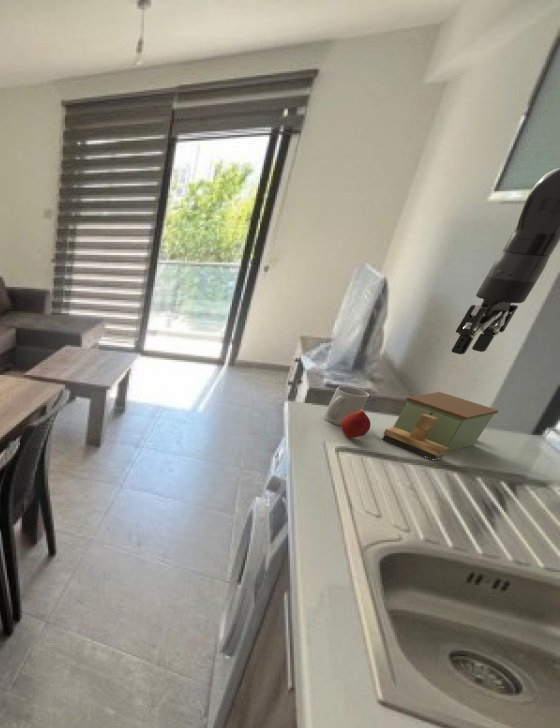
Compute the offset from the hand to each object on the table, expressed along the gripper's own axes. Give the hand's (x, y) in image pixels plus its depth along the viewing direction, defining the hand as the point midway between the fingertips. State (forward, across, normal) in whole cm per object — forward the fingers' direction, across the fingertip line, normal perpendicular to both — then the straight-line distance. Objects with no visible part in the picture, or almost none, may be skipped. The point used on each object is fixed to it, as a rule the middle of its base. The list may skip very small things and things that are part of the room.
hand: (467, 352), depth 108 cm
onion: (+25, -10, +9) cm, 29 cm away
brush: (+25, 0, 0) cm, 25 cm away
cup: (+25, -3, +17) cm, 31 cm away
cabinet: (+25, +13, +2) cm, 28 cm away
